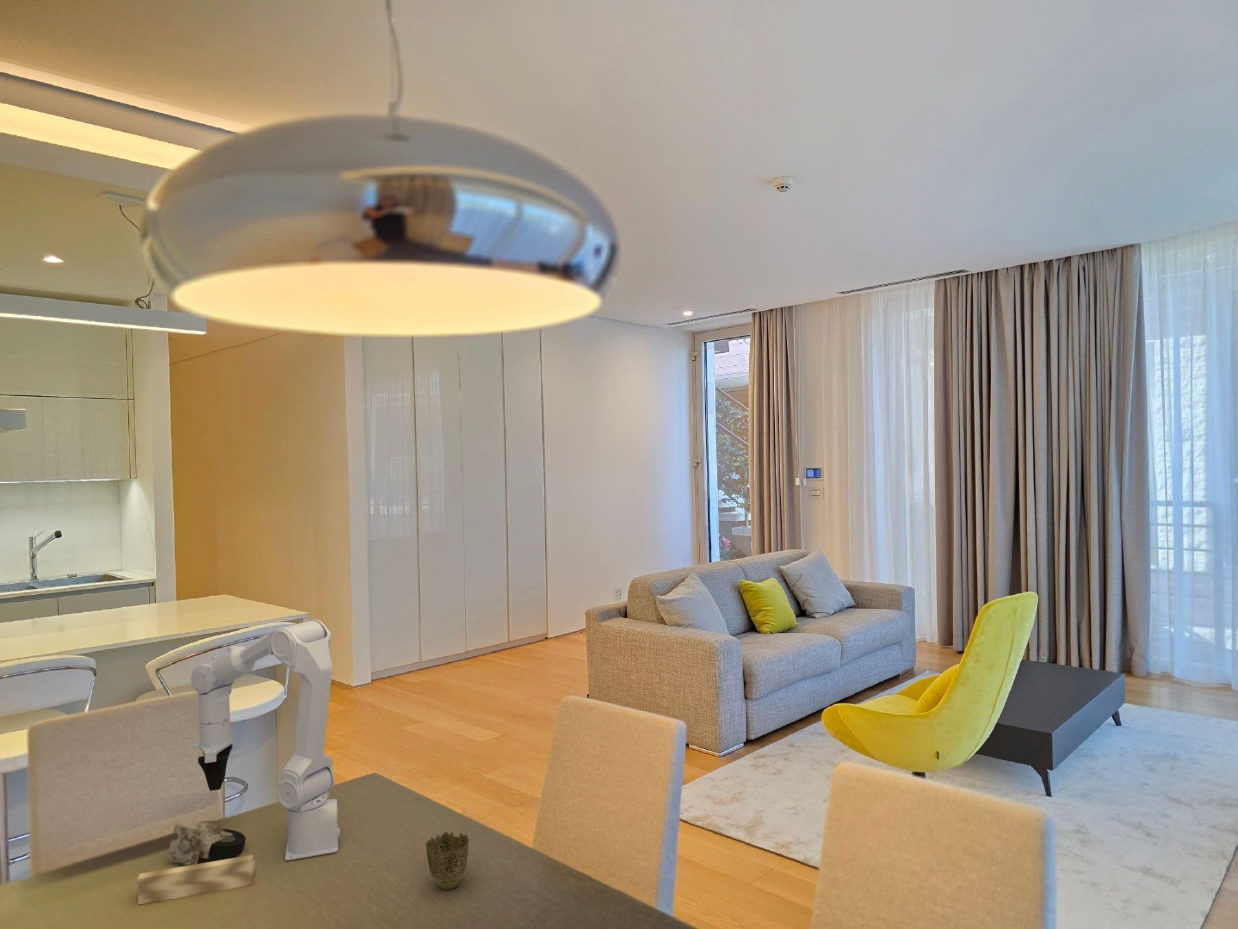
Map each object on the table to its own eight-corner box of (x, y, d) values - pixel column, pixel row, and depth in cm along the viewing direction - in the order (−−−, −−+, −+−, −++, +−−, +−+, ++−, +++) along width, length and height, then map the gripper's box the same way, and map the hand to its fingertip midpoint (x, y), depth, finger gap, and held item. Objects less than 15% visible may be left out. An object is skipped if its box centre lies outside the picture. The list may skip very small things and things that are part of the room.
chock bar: (254, 873, 151) (254, 848, 151) (252, 885, 147) (251, 859, 147) (144, 892, 145) (143, 867, 145) (138, 905, 141) (137, 879, 141)
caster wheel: (249, 860, 162) (214, 877, 152) (201, 844, 164) (164, 860, 155) (257, 826, 162) (223, 841, 153) (210, 810, 165) (173, 824, 155)
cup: (477, 878, 146) (476, 834, 146) (456, 900, 139) (455, 852, 139) (441, 873, 149) (440, 829, 149) (418, 893, 142) (417, 847, 142)
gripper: (198, 713, 175) (200, 776, 175) (186, 733, 161) (189, 802, 161) (235, 709, 177) (237, 771, 177) (226, 728, 164) (228, 796, 163)
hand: (216, 786), depth 169 cm, fingers open, 3 cm apart
